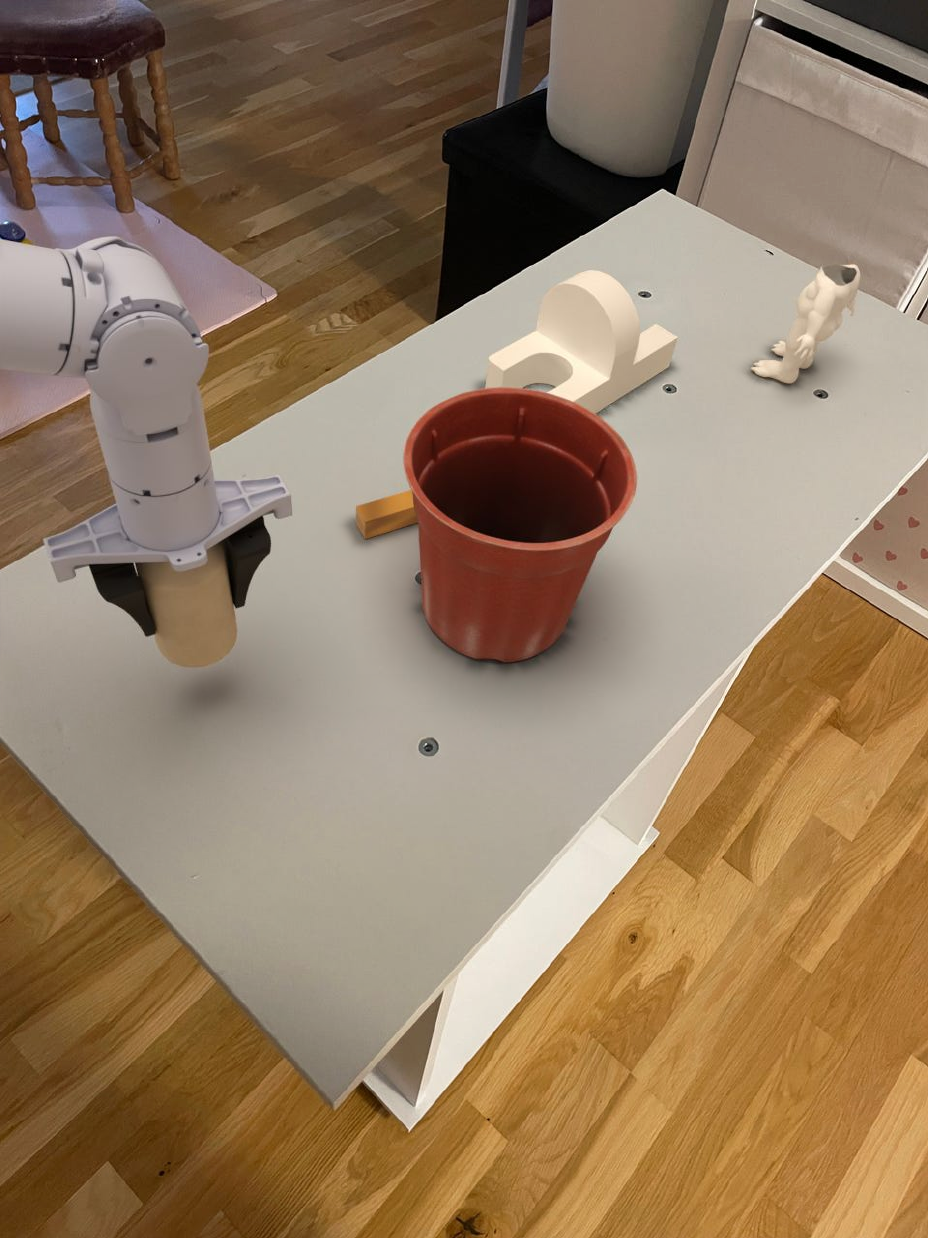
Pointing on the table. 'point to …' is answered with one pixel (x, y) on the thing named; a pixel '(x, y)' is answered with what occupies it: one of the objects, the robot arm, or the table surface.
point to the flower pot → (511, 514)
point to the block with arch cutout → (585, 345)
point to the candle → (191, 609)
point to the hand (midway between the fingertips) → (191, 610)
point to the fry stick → (386, 514)
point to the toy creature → (813, 321)
